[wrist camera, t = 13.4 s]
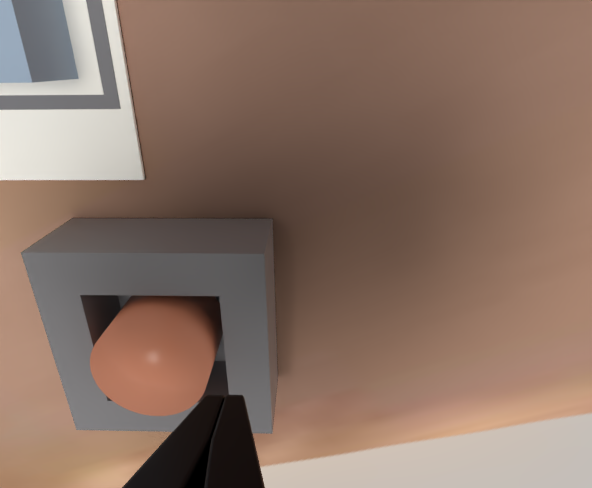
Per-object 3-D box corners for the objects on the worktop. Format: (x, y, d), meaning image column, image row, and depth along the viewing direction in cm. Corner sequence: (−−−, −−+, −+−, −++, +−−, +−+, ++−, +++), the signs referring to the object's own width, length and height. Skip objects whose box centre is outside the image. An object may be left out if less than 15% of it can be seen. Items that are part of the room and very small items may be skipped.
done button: (220, 276, 20) (201, 324, 16) (228, 357, 22) (212, 417, 18) (119, 275, 20) (78, 323, 17) (136, 356, 22) (103, 415, 19)
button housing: (272, 218, 20) (264, 253, 16) (278, 377, 24) (272, 433, 21) (72, 218, 20) (20, 252, 17) (111, 374, 25) (76, 429, 21)
